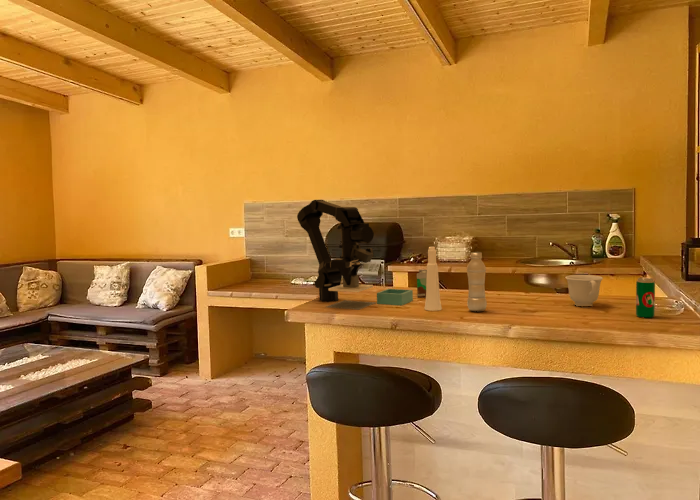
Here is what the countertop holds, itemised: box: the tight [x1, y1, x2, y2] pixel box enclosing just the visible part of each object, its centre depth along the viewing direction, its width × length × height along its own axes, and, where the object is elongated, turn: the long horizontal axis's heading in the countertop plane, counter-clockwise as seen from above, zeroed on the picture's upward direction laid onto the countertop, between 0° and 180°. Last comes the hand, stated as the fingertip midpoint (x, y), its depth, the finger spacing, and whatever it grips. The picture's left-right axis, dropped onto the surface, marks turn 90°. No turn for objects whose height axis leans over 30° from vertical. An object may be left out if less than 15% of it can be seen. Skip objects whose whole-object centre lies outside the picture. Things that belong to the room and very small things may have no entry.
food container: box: [416, 269, 427, 299], centre depth 213 cm, size 12×6×10 cm, turn 168°
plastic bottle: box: [466, 251, 488, 312], centre depth 180 cm, size 6×7×20 cm
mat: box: [326, 300, 377, 311], centre depth 194 cm, size 14×14×1 cm
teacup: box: [564, 274, 604, 307], centre depth 182 cm, size 12×15×10 cm
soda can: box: [635, 277, 656, 319], centre depth 163 cm, size 5×5×12 cm
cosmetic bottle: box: [424, 246, 443, 312], centre depth 185 cm, size 6×6×22 cm
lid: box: [328, 274, 374, 293], centre depth 194 cm, size 12×12×5 cm
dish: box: [376, 288, 414, 306], centre depth 197 cm, size 10×10×5 cm
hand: (350, 284), depth 194 cm, fingers closed on lid, 3 cm apart
